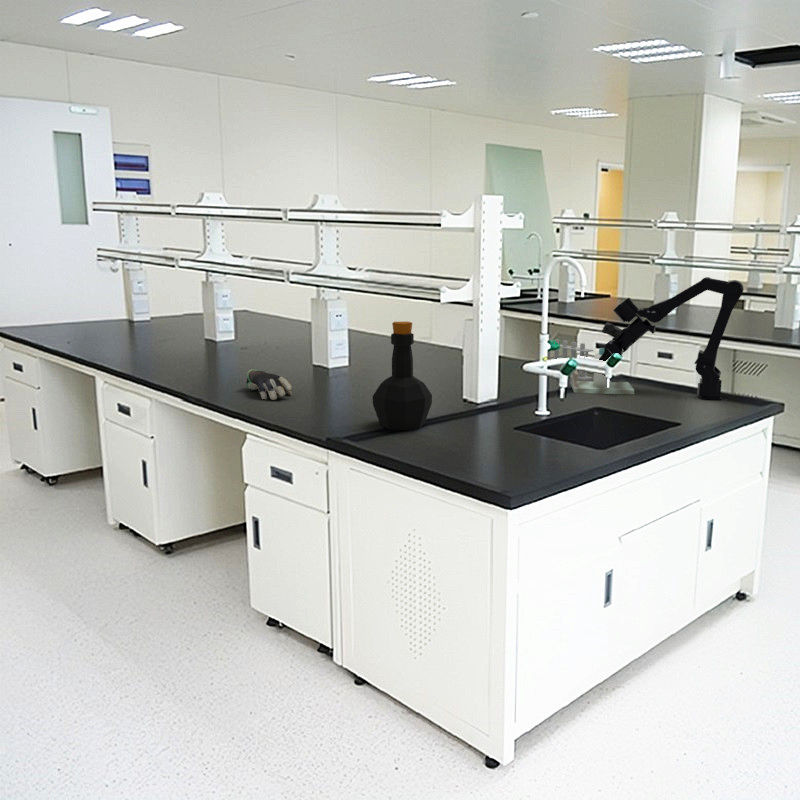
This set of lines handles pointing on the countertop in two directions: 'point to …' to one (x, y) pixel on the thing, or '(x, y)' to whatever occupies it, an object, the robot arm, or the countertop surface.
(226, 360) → the countertop surface
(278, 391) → the glove
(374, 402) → the bottle
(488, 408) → the countertop surface
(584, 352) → the test tube rack
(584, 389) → the shelf board
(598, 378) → the white bottle
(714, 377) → the robot arm
